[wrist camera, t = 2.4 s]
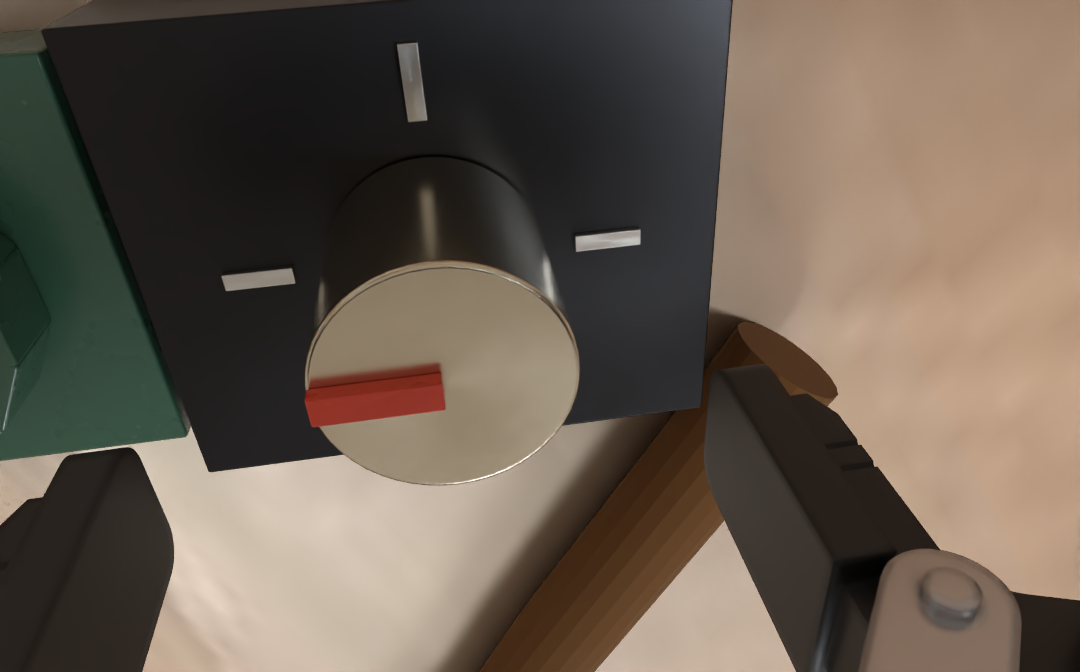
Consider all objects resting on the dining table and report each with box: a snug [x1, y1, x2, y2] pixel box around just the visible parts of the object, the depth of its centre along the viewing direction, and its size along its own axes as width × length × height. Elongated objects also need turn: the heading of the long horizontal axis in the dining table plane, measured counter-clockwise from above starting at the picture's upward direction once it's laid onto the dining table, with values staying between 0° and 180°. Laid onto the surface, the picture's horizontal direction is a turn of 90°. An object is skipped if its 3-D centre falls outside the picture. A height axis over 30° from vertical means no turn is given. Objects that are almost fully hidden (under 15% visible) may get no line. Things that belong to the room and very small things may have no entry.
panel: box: [41, 0, 733, 472], centre depth 18 cm, size 12×10×3 cm
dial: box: [304, 157, 580, 485], centre depth 14 cm, size 4×4×5 cm
